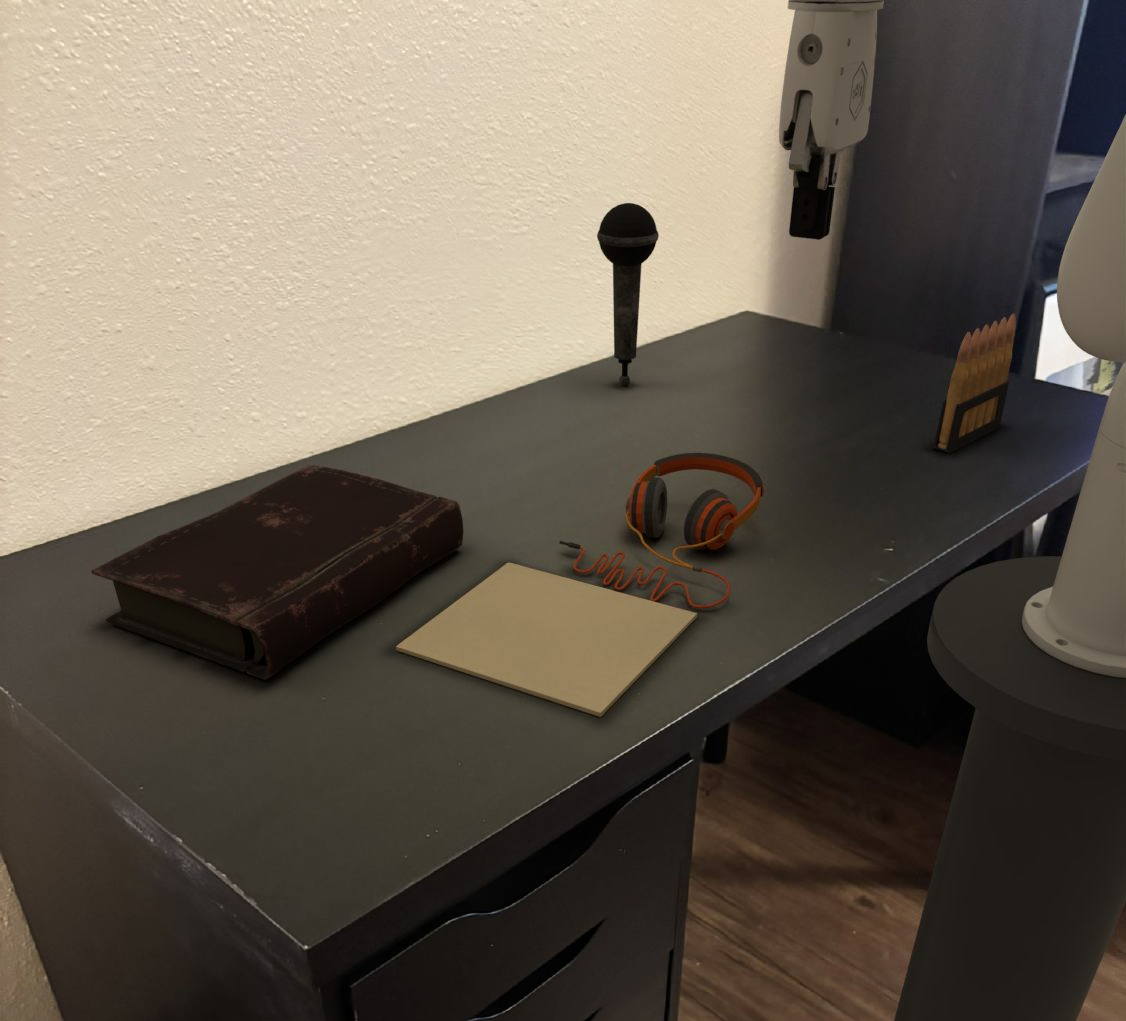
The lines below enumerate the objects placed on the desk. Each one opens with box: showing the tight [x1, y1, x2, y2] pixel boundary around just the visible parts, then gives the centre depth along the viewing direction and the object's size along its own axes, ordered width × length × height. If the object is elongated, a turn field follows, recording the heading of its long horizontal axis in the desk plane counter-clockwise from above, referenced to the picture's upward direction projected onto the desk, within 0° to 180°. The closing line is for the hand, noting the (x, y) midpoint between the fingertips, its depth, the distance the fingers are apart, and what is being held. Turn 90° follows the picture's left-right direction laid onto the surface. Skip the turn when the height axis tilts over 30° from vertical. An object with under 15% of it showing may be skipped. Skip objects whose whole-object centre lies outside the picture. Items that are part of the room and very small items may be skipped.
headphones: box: [558, 452, 765, 609], centre depth 97 cm, size 17×5×20 cm
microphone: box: [596, 202, 659, 387], centre depth 127 cm, size 7×7×20 cm
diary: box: [91, 464, 464, 681], centre depth 92 cm, size 19×25×5 cm
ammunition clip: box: [932, 313, 1017, 454], centre depth 115 cm, size 11×2×12 cm, turn 134°
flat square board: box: [395, 562, 698, 718], centre depth 87 cm, size 18×16×1 cm
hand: (808, 235), depth 99 cm, fingers closed
